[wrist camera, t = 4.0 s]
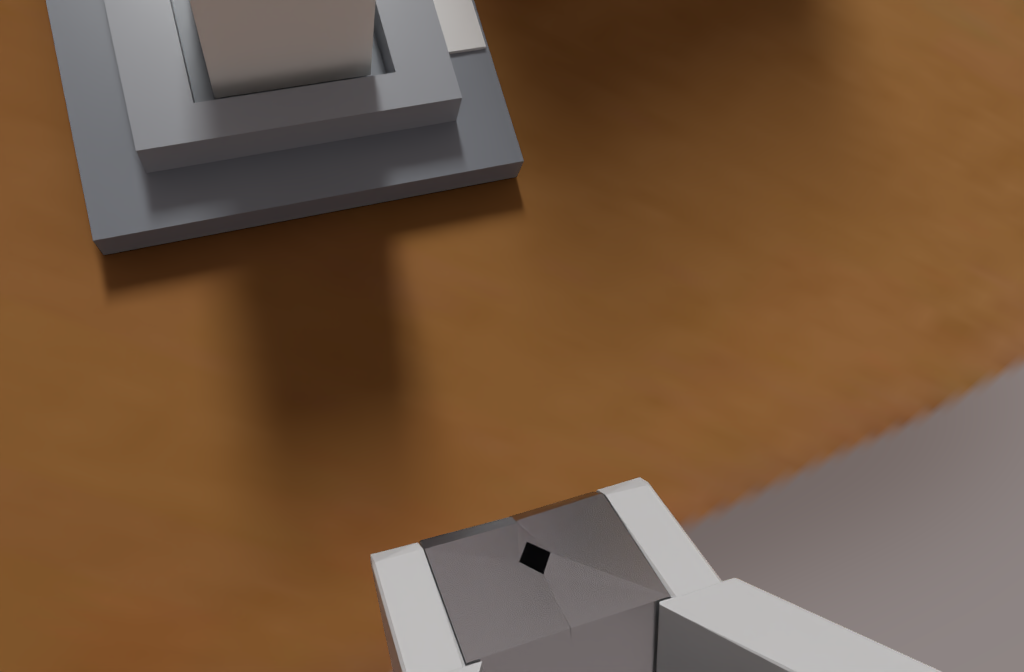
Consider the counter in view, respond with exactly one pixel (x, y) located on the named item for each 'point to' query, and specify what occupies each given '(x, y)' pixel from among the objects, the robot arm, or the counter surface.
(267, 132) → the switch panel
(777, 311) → the counter surface
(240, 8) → the white rectangular block
